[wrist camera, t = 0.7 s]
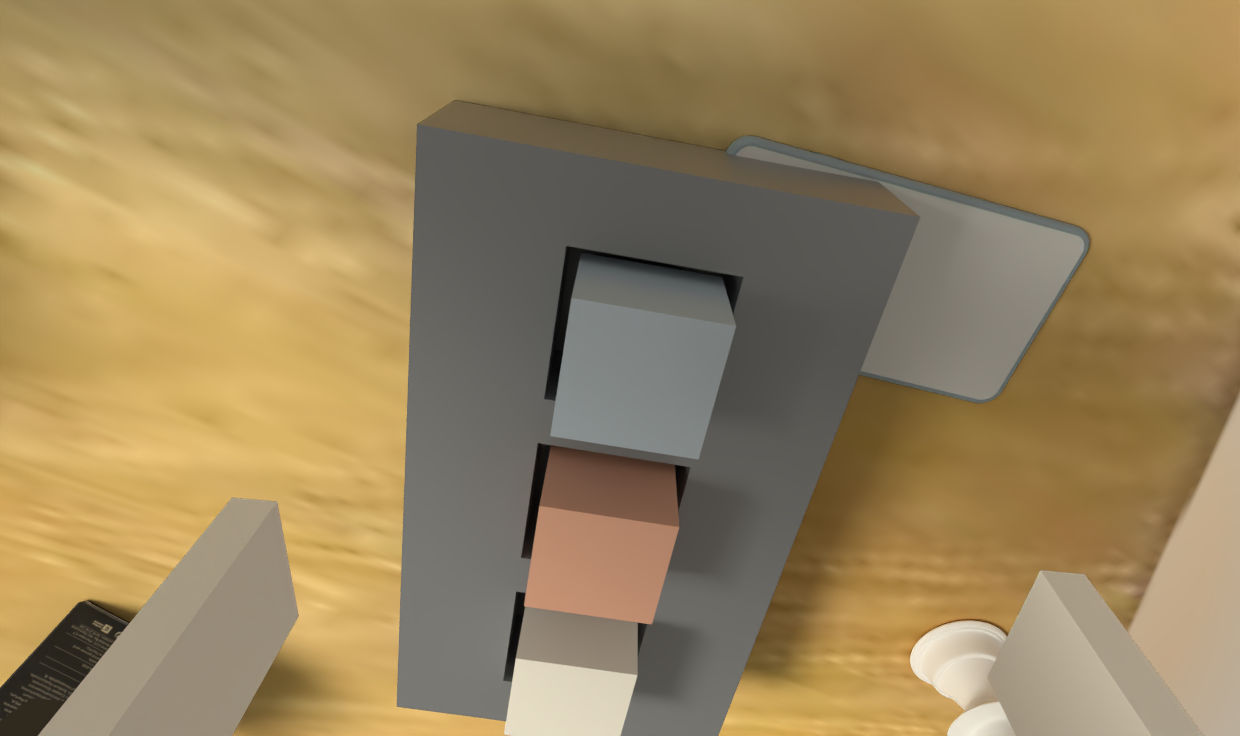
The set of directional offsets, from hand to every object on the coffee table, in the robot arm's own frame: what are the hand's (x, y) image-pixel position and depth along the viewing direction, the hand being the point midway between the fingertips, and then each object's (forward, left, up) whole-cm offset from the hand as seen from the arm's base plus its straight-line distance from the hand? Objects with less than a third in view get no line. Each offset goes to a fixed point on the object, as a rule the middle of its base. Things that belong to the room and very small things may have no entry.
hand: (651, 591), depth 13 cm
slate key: (0, -2, -14) cm, 14 cm away
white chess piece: (+22, -20, -18) cm, 35 cm away
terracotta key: (0, -10, -14) cm, 17 cm away
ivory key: (0, -18, -14) cm, 23 cm away
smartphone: (+9, 0, -19) cm, 21 cm away
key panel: (0, -10, -18) cm, 21 cm away
